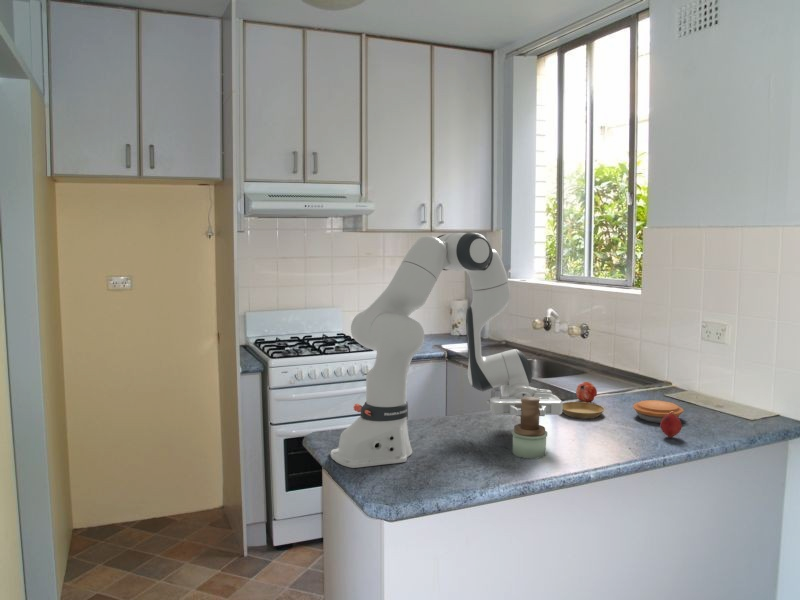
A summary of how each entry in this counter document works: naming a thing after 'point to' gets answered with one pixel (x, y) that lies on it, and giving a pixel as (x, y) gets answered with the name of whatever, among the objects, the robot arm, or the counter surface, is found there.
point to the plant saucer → (582, 409)
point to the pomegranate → (586, 392)
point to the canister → (529, 446)
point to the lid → (529, 418)
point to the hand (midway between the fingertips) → (530, 413)
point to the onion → (671, 425)
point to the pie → (656, 410)
